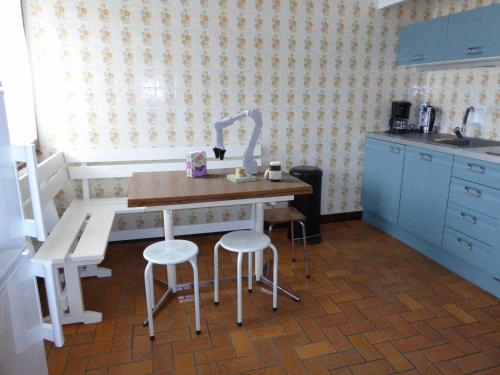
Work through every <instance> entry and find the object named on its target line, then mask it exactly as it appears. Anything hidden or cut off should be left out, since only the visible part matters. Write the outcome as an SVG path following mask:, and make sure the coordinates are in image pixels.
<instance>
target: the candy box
mask: <svg viewBox="0 0 500 375" xmlns="http://www.w3.org/2000/svg"><path fill="white" fill-rule="evenodd" d="M185 164H186V165H185V169H186V178H191V179H195V178H198V177H203V176H207V175H208V174H207V173H208V171H207V168H208V167H207V152H206V150H205V151H204V150H197V151H196V150H195V151H190V152H186V153H185Z"/></svg>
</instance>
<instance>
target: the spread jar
mask: <svg viewBox="0 0 500 375" xmlns="http://www.w3.org/2000/svg"><path fill="white" fill-rule="evenodd" d="M281 164H282V162H281V161H270V162H269V167H268V168H267V169H266V170H265V172H264V174H263V177H264V179H266V180H268V179H269V181H270V182H274V183H275V182H277V183H278V182H281V181H282V173H283V172H282V165H281Z"/></svg>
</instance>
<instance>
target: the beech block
mask: <svg viewBox="0 0 500 375" xmlns="http://www.w3.org/2000/svg"><path fill="white" fill-rule="evenodd" d="M235 174H236V176H238V177H244V176H246V168H243V166H242V167H236V168H235Z"/></svg>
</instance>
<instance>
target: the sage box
mask: <svg viewBox="0 0 500 375" xmlns="http://www.w3.org/2000/svg"><path fill="white" fill-rule="evenodd" d="M226 180H229V181H230V182H233V183H235V184H239V183H247V182H256V181H257V177H256V176H255V175H253V174H247V173H246V176H244V177H238V176H236V173H233V174H226Z"/></svg>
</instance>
